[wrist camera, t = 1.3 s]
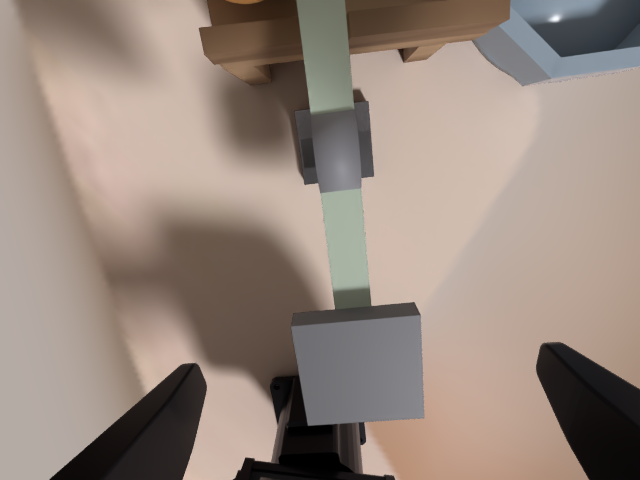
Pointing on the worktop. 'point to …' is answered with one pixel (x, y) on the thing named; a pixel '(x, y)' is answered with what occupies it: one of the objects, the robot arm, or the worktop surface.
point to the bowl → (564, 39)
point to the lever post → (308, 151)
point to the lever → (348, 259)
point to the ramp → (362, 26)
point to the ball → (244, 1)
